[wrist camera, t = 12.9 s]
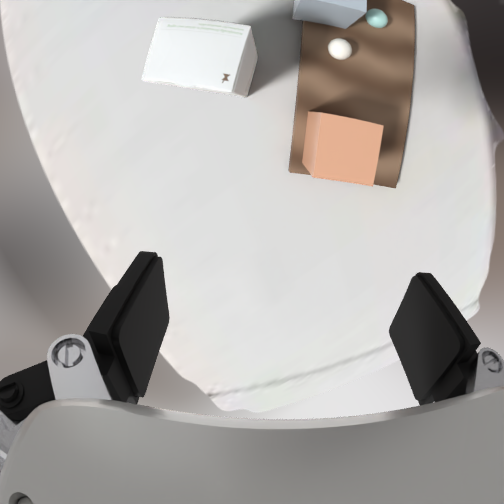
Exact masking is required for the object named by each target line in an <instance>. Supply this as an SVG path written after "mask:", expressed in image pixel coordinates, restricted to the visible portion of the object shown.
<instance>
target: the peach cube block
mask: <svg viewBox="0 0 504 504" xmlns="http://www.w3.org/2000/svg"><path fill="white" fill-rule="evenodd" d="M382 133H383V125H379V124H375V123H371V122H367V121H362V120H358V119H353V118H348V117H343V116H338V115H333V114H327V113H321V112H309V111H308V117H307V126H306V135H305V143H304V151H303V159H302V163H303V165H304V166H305V167H306V169H307V170H308V171H309V173H310V174H311V176H312V177H314V178H321V179H329V180H336V181H343V182H349V183H356V184H362V185H368V186H373V183H374V178H375V173H376V168H377V163H378V157H379V151H380V145H381V139H382Z"/></svg>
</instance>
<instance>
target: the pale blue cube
mask: <svg viewBox="0 0 504 504" xmlns="http://www.w3.org/2000/svg"><path fill="white" fill-rule="evenodd" d="M365 13H367V0H294V7H293V19H296V20H303V21H309V22H315V23H320V24H326V25H330V26H335V27H340V28H344V29H346V28H348V27H349V26H350V25H351V24H353V23H354V22H355V21H356V20H358V19H359V18H360V17H361V16H363V15H364V14H365Z"/></svg>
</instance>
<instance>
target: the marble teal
mask: <svg viewBox="0 0 504 504" xmlns="http://www.w3.org/2000/svg"><path fill="white" fill-rule="evenodd" d="M365 17H366V20H367V22H368V23H369V24H370V25H371V26H373V27H375V28H382V27H385V26H386V25H387V22H388V18H387V16H386V14H385V13H384V12H383V11H381V10H379V9H370V10H368V11H367V13H366V16H365Z"/></svg>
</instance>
